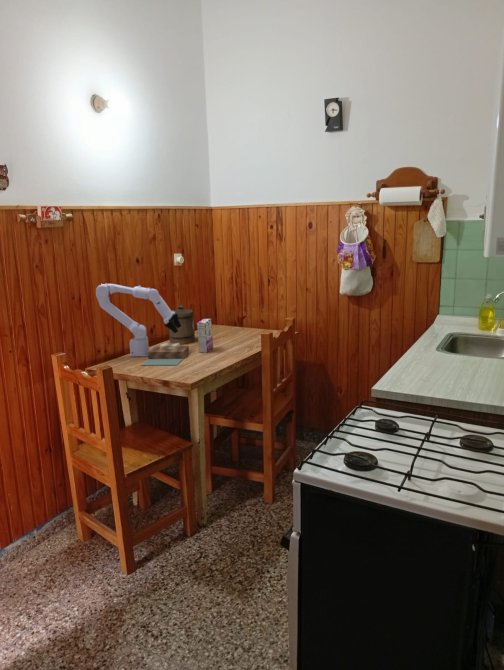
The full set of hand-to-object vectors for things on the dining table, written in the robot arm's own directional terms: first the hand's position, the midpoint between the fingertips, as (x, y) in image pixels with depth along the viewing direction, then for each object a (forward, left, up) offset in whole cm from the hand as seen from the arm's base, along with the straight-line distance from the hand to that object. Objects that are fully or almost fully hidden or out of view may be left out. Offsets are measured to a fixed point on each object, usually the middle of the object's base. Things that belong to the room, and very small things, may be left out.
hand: (178, 329), depth 258 cm
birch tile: (-3, -8, -8) cm, 12 cm away
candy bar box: (+14, +2, -12) cm, 19 cm away
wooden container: (-5, +24, -12) cm, 27 cm away
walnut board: (-3, -10, -12) cm, 16 cm away
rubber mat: (-3, -22, -12) cm, 25 cm away
